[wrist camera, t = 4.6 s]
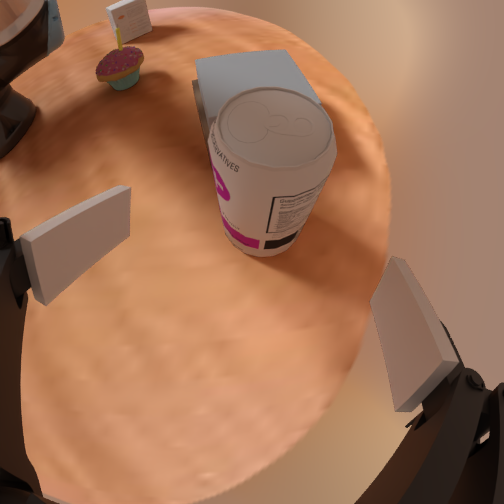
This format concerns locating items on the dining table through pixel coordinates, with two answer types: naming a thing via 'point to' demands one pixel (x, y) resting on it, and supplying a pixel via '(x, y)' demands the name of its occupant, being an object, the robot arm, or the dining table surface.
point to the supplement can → (269, 165)
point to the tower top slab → (246, 77)
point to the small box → (129, 19)
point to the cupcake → (120, 66)
